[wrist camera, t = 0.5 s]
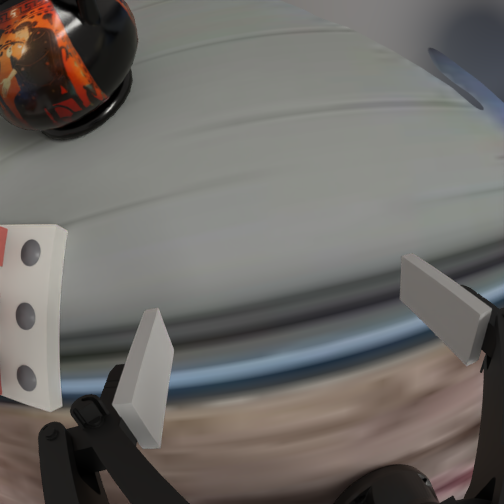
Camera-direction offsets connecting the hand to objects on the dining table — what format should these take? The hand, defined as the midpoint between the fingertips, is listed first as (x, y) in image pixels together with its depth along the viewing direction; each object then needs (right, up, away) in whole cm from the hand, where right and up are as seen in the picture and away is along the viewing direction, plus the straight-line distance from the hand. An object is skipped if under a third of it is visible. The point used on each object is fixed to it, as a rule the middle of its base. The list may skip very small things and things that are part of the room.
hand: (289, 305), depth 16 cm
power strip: (-32, -5, +15) cm, 36 cm away
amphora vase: (-27, +26, +22) cm, 44 cm away
